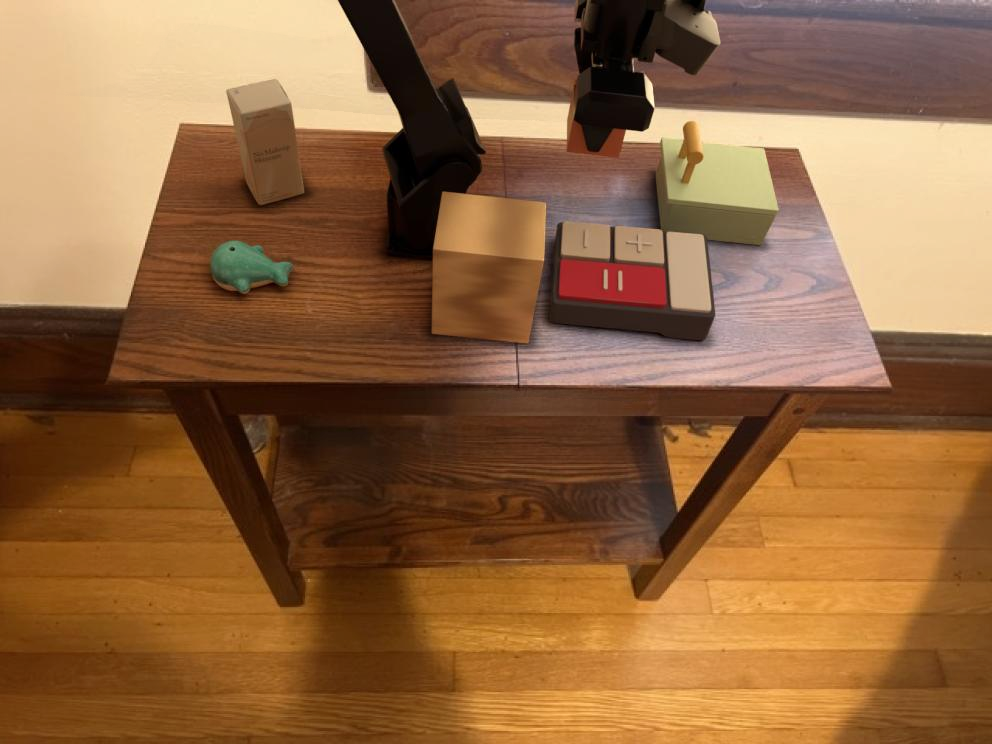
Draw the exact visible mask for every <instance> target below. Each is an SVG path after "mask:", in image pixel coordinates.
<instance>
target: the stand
mask: <svg viewBox="0 0 992 744" xmlns="http://www.w3.org/2000/svg"><path fill="white" fill-rule="evenodd" d="M546 216H547V202H546V201H545V202H543V201H536V200H535V201H534V200H526V199H525V200H524V199H517V198H506V197H497V196H490V195H489V196H488V195H481V194H480V195H479V194H469V193H466V194H461V193H452V192H442V197H441V203H440V209H439V215H438V221H437V227H436V234H435V240H434V246H433V260H432V281H431V282H432V287H431V288H432V291H431V293H432V294H431V295H432V296H431V334H432V335H441V336H450V337H460V338H467V339H469V338H470V339H480V340H489V341H499V342H508V343H509V342H510V343H518V344H529V341H530V336H531V331H532V326H533V320H534V317H535V316H534V315H535V310H536V304H537V300H538V296H539V295H538V294H539V289H540V284H541V278H542V274H543V268H544V263H545V244H546V243H545V242H546Z"/></svg>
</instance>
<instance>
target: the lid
mask: <svg viewBox="0 0 992 744" xmlns="http://www.w3.org/2000/svg"><path fill="white" fill-rule="evenodd" d="M698 123H699V122H697V121H695V120H689V121H687V122H685V123H684V124H683V126H682V135H683V139H679V138H671V137H670V138H669V137H661V139H660V142H659V144H660V145H659V146H660V153H661V155H662V165H663V174H664V184H665V193H666V203H667V204H675V205H685V206H694V207H703V208H713V209H722V210H731V211H740V212H750V213H759V214H768V215H776V216H777V215H778V213H779V212H780V211H779V206H778V201H777V197H776V193H775V189H774V184H773V181H772V176H771V171H770V168H769V167H770V166H769V163H768V159H767V158H768V157H767V154H766V151H765V148H761V147H751V146H743V145H733V144H726V143H725V144H724V143H717V142H707V141H702V139H701V131H700V126H699V124H698Z"/></svg>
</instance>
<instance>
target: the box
mask: <svg viewBox="0 0 992 744" xmlns="http://www.w3.org/2000/svg"><path fill="white" fill-rule="evenodd" d="M225 93H226V97H227V101H228V106H229V110H230V115H231V119H232V123H233V128H234V132H235V137H236V141H237V142H236V143H237V146H238V151H239V155H240V160H241V165H242V170H243V174H244V179H245V182H246V184H247V186H248V188H249V191H250V192H251V194H252V196H253V198H254V199H255V201H256V203H257V205H259V206H263V205H267V204H271V203H274V202H279V201H282V200H286V199H290V198H294V197H297V196H300V195H303V194H305V186H304V181H303V173H302V166H301V159H300V153H299V146H298V139H297V133H296V126H295V124H296V123H295V118H294V117H295V116H294V111H293V105H292V101H291V99H290V97H289V96H288V94H287V92H286V91H285V89H284V88H283V86H282V84H281V82H280V81H279V79H276V78H272V79H269V80H268V79H267V80H262V81H259V82H253V83H248V84H244V85H241V86H236V87H231V88H226V90H225Z"/></svg>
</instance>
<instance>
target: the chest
mask: <svg viewBox="0 0 992 744" xmlns="http://www.w3.org/2000/svg"><path fill="white" fill-rule="evenodd" d="M655 183H656V193H657V195H656V196H657V203H658V204H657V205H658V214H659V215H658V216H659V225H660V230H662V231H670V232H682V233H693V234H703V235H705V236H706V237H707V241H717V242H727V243H734V244H745V245H755V246H762V245H763V242H764V240H765V238H766V236H767V234H768V232H769V231H770V228H771V226H772V225H773V223H774V221H775V219H776V217H777V215H768V214H759V213H750V212H740V211H731V210H722V209H713V208H703V207H694V206H685V205H675V204H667V203H666V193H665V184H664V174H663V165H662V155H661V156H660V159H659V161H658V164H657V168H656V171H655Z"/></svg>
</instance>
